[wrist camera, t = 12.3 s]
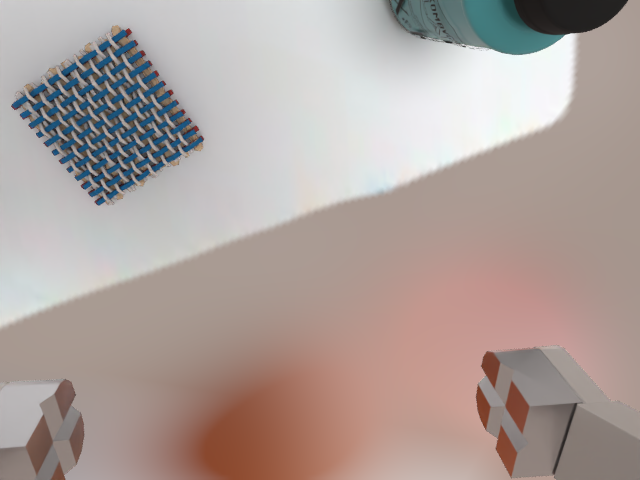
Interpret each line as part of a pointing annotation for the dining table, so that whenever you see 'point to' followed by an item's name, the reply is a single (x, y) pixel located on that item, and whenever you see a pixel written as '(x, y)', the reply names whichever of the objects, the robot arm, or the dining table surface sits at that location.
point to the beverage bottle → (503, 21)
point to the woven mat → (109, 117)
